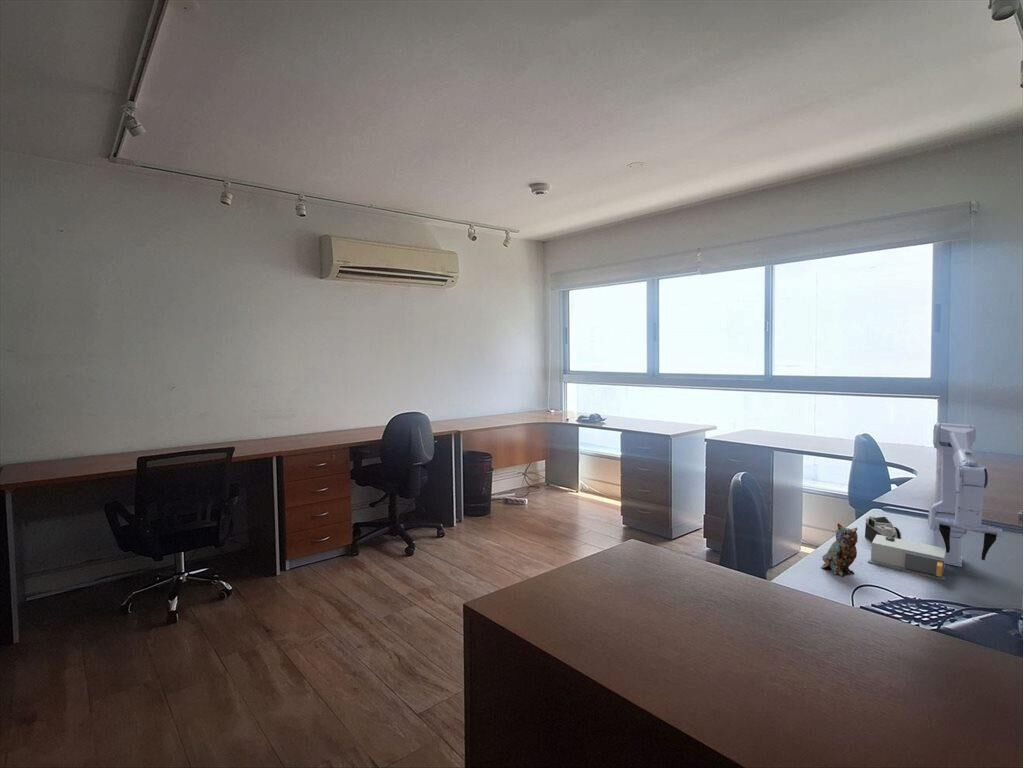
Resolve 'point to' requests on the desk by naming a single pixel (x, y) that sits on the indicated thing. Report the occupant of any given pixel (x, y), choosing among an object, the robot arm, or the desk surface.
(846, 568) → the figurine
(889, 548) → the camera case
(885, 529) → the camera
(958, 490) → the robot arm
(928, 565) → the side door
